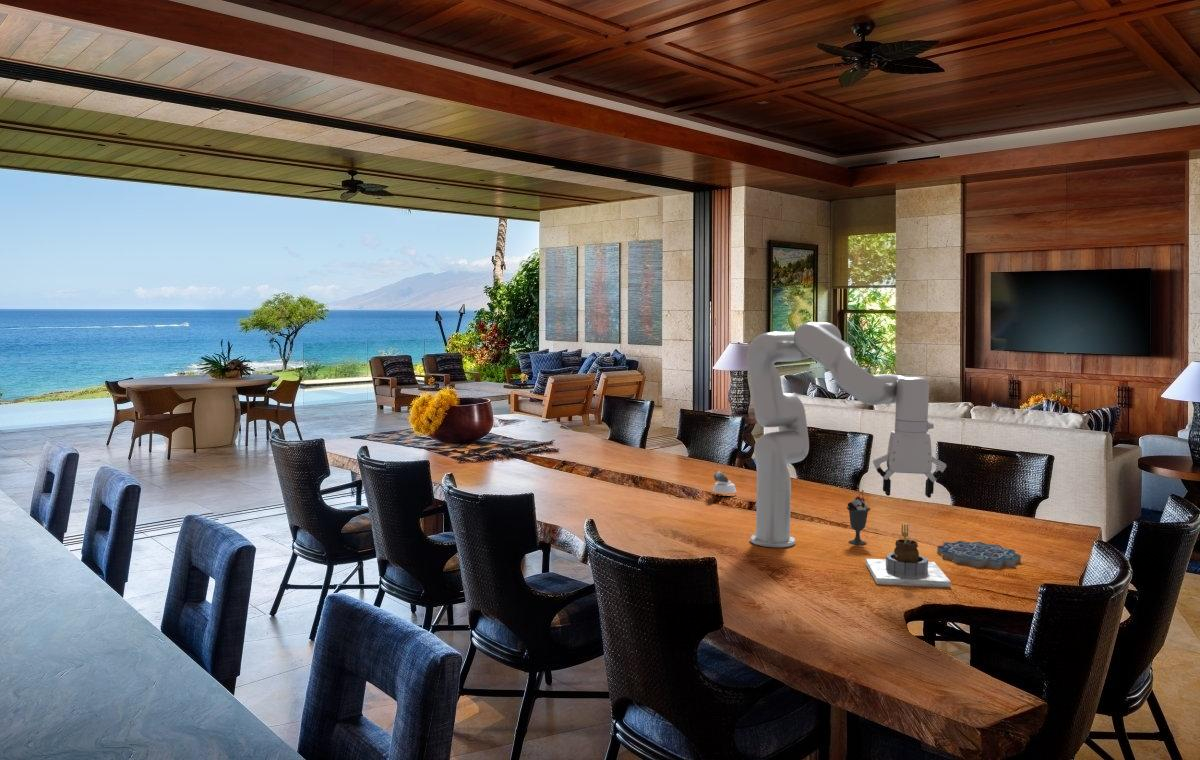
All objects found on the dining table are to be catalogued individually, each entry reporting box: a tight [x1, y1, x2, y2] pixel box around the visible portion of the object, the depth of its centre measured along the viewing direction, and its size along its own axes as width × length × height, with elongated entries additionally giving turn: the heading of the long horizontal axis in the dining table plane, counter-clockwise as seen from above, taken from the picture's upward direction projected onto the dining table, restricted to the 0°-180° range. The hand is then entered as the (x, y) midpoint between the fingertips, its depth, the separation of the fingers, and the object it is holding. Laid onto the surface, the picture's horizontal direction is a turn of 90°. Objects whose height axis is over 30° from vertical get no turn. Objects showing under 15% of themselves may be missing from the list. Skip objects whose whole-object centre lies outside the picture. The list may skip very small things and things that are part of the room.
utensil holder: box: [893, 523, 920, 562], centre depth 211 cm, size 6×6×12 cm
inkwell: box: [712, 471, 737, 494], centre depth 305 cm, size 9×18×10 cm, turn 161°
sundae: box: [846, 490, 871, 546], centre depth 243 cm, size 7×7×15 cm
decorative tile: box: [936, 540, 1022, 570], centre depth 229 cm, size 20×20×2 cm
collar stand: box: [865, 552, 952, 589], centre depth 212 cm, size 17×17×4 cm
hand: (907, 495), depth 211 cm, fingers open, 9 cm apart
